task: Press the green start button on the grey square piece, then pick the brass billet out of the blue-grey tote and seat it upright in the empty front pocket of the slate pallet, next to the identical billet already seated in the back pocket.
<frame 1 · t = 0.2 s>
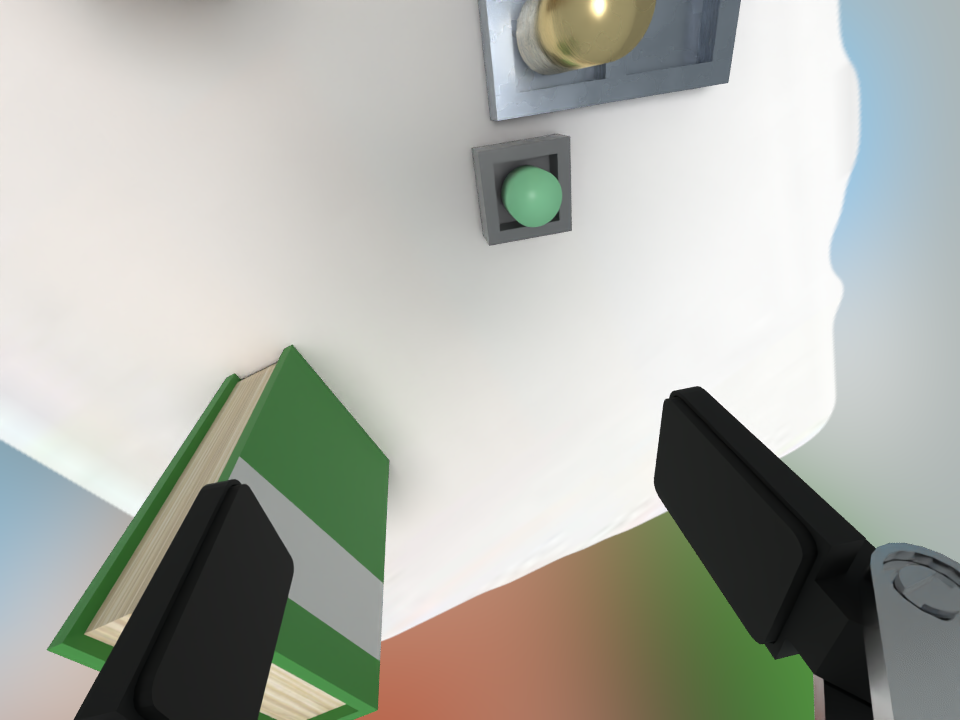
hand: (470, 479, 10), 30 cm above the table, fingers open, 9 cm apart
pallet: (599, 26, 31), on the table
grey square piece: (518, 187, 35), on the table
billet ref: (550, 32, 29), point 1 cm above the table, touching pallet
button: (530, 195, 32), point 4 cm above the table, slide at 0.0 cm
hardback book: (316, 421, 45), on the table
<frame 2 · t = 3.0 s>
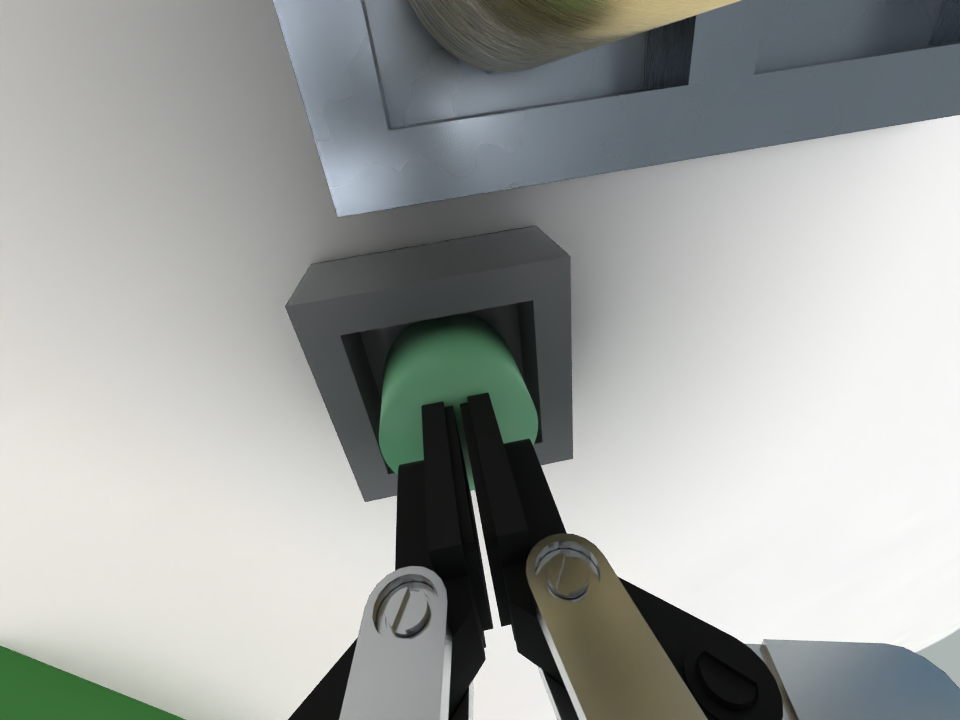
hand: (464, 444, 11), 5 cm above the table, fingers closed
grey square piece: (444, 342, 15), on the table
button: (454, 401, 12), point 3 cm above the table, slide at 0.6 cm, touching gripper
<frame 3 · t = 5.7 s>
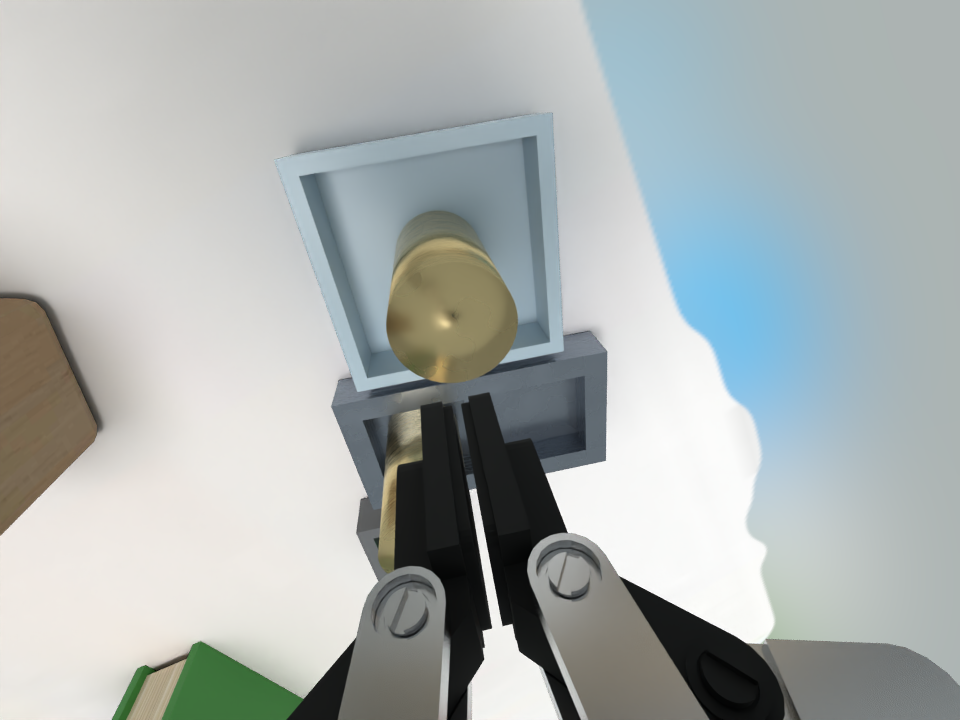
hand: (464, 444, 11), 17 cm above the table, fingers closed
pallet: (476, 410, 31), on the table
grey square piece: (413, 518, 36), on the table
tote: (438, 252, 25), on the table
billet: (438, 255, 24), resting on tote
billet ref: (423, 429, 30), point 1 cm above the table, touching pallet
hardback book: (234, 686, 45), on the table
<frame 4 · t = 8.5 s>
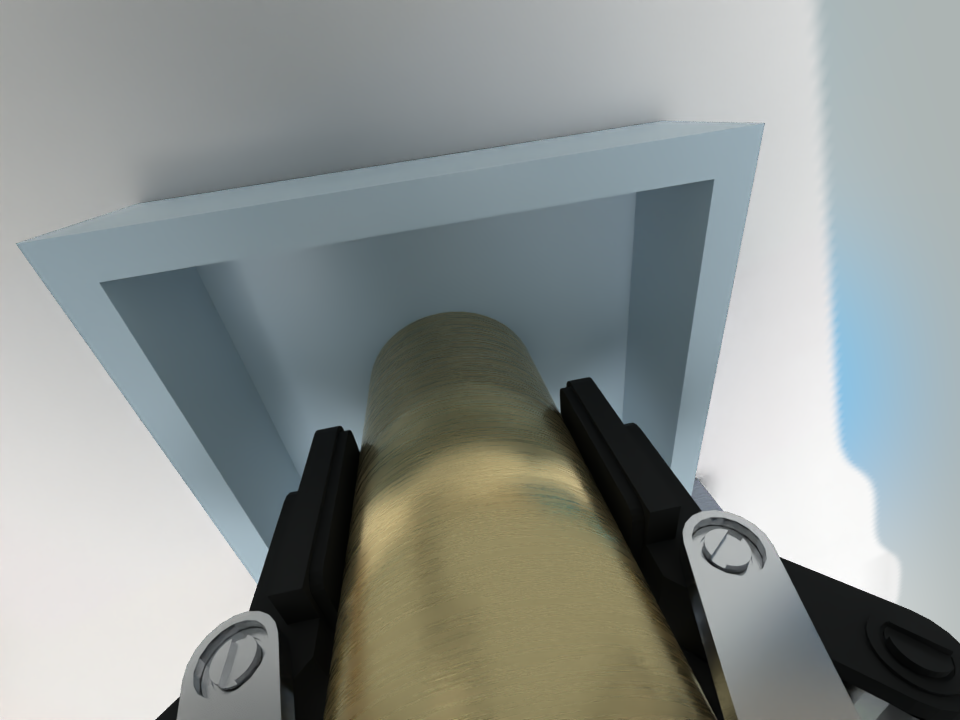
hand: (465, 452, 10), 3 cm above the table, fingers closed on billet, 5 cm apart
pallet: (504, 588, 19), on the table
tote: (452, 378, 13), on the table
billet: (454, 386, 13), resting on tote, touching gripper
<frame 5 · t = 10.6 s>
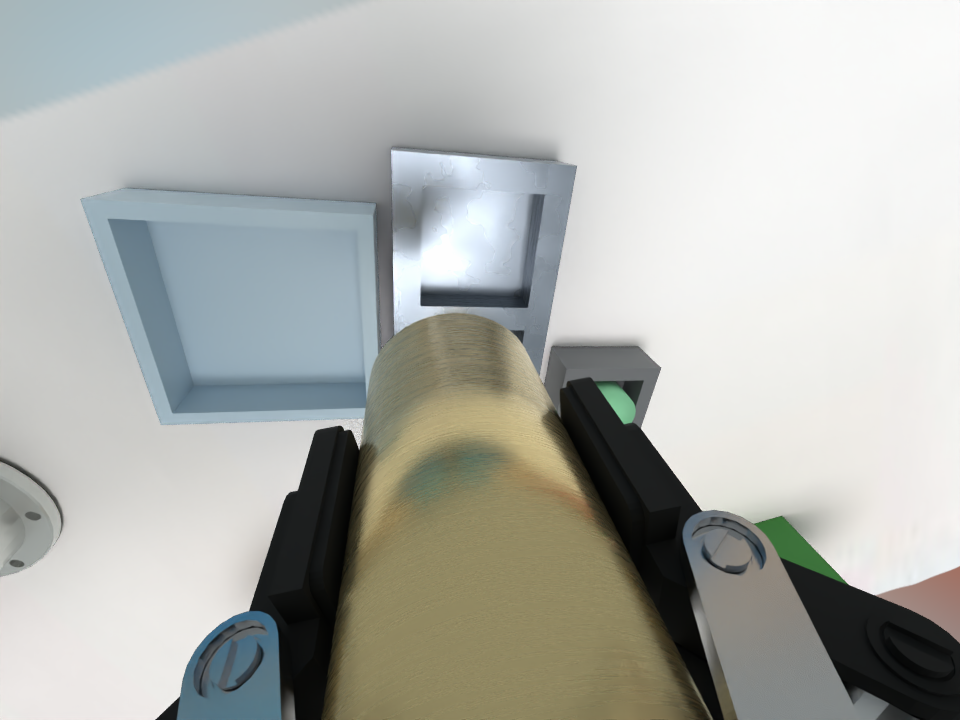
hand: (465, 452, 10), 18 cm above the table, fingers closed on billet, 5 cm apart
pallet: (467, 300, 28), on the table
grey square piece: (586, 386, 33), on the table
tote: (274, 304, 26), on the table
billet: (453, 388, 13), point 15 cm above the table, touching gripper
button: (599, 405, 31), point 3 cm above the table, slide at 1.5 cm
hardback book: (703, 555, 49), on the table
when the fingers open (5 cm above the table, at t = 13.0 s): billet drops 1 cm, resting on pallet.
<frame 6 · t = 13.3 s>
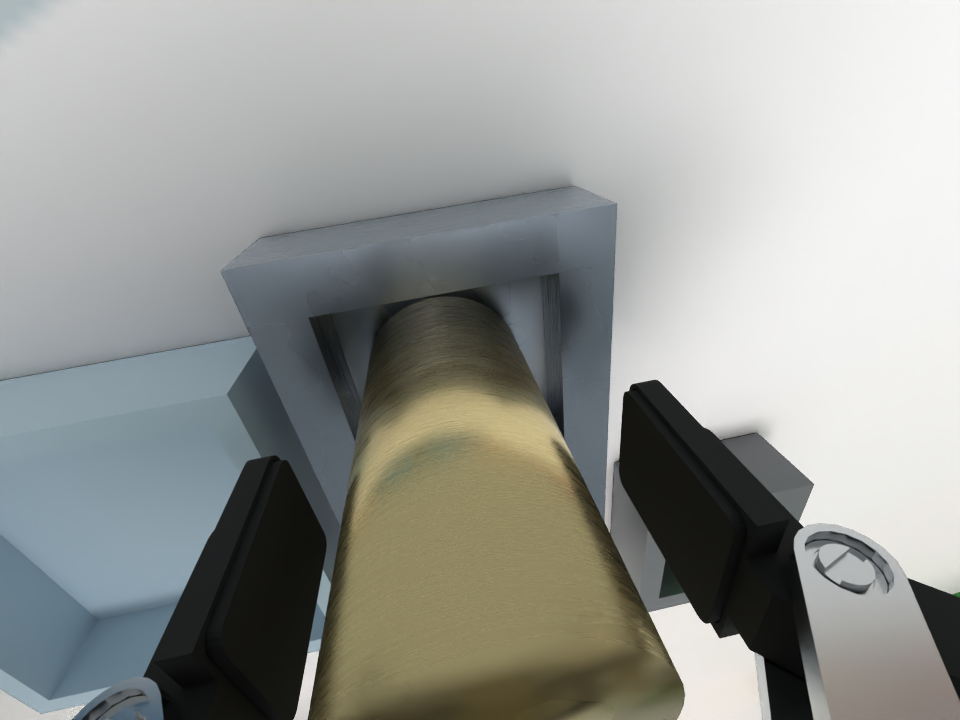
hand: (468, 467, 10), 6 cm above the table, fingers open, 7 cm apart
pallet: (464, 433, 17), on the table
grey square piece: (677, 498, 21), on the table
tote: (167, 502, 17), on the table
billet: (446, 366, 14), point 1 cm above the table, touching pallet
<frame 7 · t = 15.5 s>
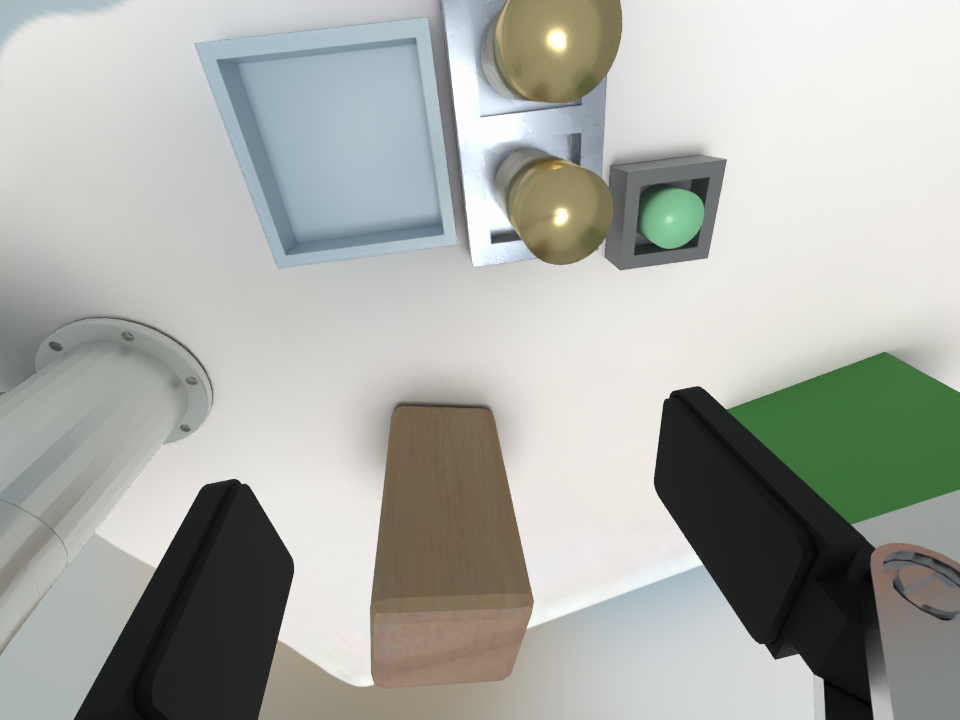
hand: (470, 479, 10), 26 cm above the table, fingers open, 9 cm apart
pallet: (522, 123, 29), on the table
wooden block: (440, 439, 44), on the table
grey square piece: (650, 208, 33), on the table
tote: (352, 152, 29), on the table
billet: (520, 53, 26), point 1 cm above the table, touching pallet
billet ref: (527, 186, 30), point 1 cm above the table, touching pallet
button: (666, 216, 31), point 3 cm above the table, slide at 1.5 cm
hardback book: (798, 406, 47), on the table
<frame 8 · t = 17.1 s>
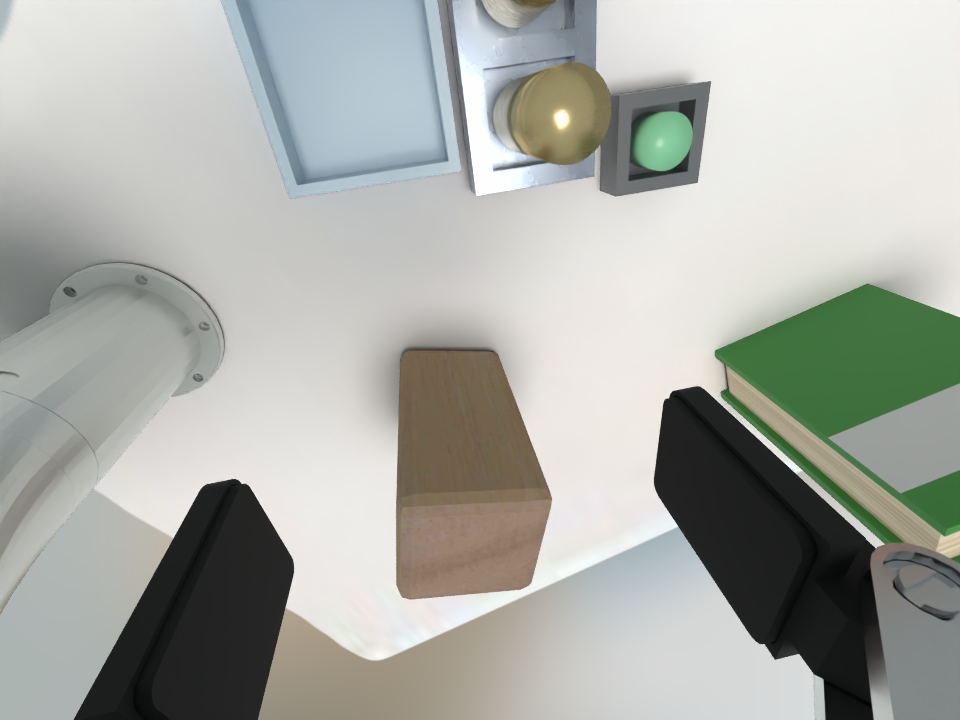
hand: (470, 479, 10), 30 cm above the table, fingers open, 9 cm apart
pallet: (518, 54, 31), on the table
wooden block: (447, 387, 45), on the table
grey square piece: (641, 139, 35), on the table
tote: (357, 85, 30), on the table
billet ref: (525, 116, 32), point 1 cm above the table, touching pallet
button: (657, 141, 33), point 3 cm above the table, slide at 1.5 cm
hardback book: (789, 342, 49), on the table
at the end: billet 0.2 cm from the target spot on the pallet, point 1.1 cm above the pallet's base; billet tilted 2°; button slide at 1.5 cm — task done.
